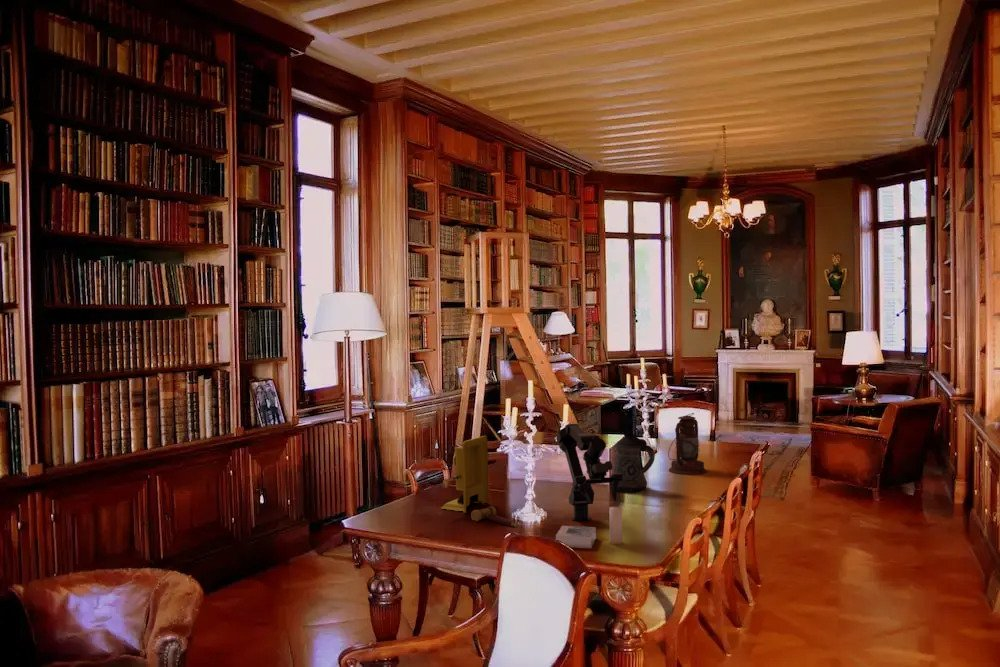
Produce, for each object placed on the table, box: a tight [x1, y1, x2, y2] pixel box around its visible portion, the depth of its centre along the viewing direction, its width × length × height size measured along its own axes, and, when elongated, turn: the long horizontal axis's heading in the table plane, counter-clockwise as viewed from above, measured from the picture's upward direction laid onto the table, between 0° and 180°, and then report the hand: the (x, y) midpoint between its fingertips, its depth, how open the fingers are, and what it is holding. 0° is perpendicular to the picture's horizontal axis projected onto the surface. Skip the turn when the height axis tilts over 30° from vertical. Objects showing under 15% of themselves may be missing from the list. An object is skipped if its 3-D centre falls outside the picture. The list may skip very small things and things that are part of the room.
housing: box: [555, 525, 597, 549], centre depth 280 cm, size 12×12×4 cm
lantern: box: [667, 412, 708, 476], centre depth 397 cm, size 19×19×30 cm
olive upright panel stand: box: [440, 435, 494, 514], centre depth 336 cm, size 31×14×30 cm, turn 149°
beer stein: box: [613, 434, 656, 494], centre depth 361 cm, size 16×19×25 cm
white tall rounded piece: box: [608, 506, 623, 546], centre depth 278 cm, size 4×4×12 cm
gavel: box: [470, 505, 517, 528], centre depth 309 cm, size 21×5×10 cm
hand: (603, 501), depth 286 cm, fingers open, 9 cm apart
